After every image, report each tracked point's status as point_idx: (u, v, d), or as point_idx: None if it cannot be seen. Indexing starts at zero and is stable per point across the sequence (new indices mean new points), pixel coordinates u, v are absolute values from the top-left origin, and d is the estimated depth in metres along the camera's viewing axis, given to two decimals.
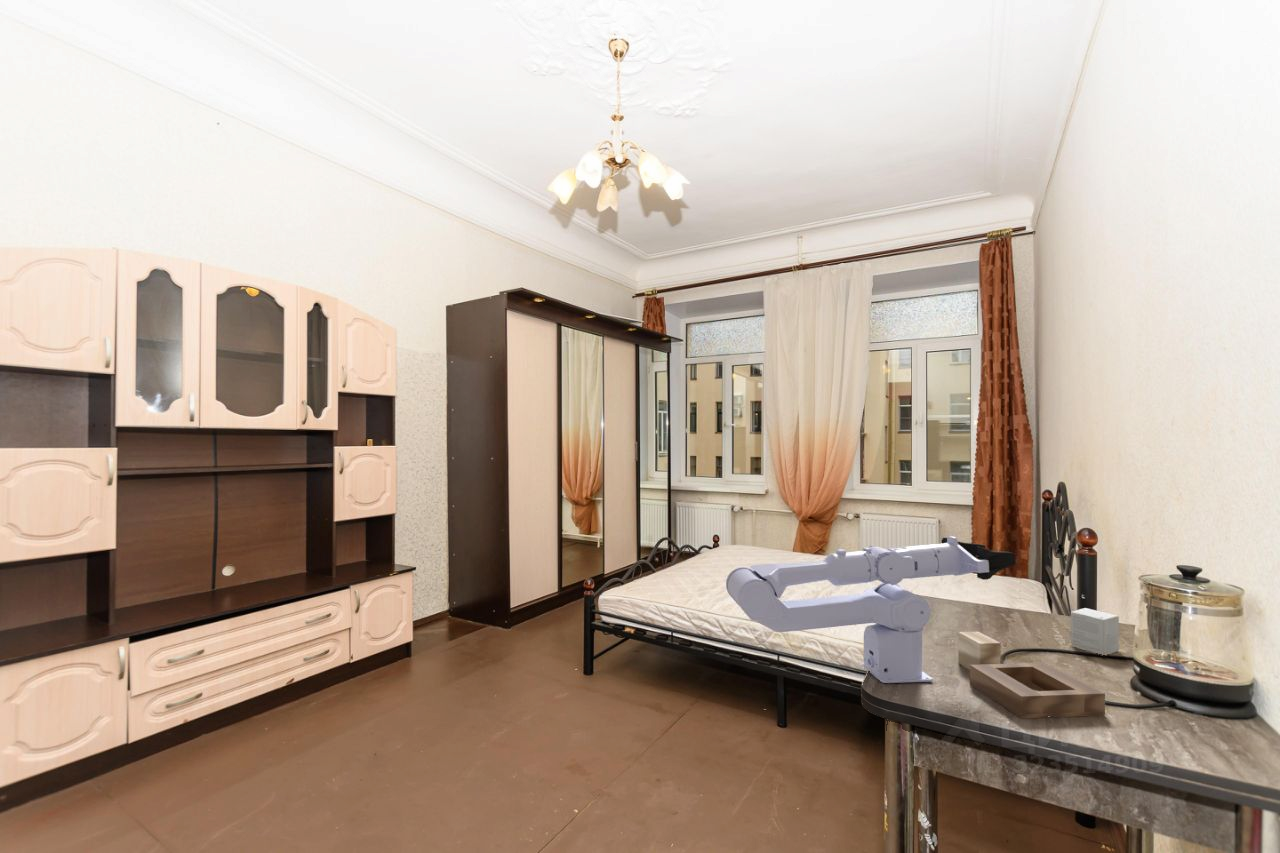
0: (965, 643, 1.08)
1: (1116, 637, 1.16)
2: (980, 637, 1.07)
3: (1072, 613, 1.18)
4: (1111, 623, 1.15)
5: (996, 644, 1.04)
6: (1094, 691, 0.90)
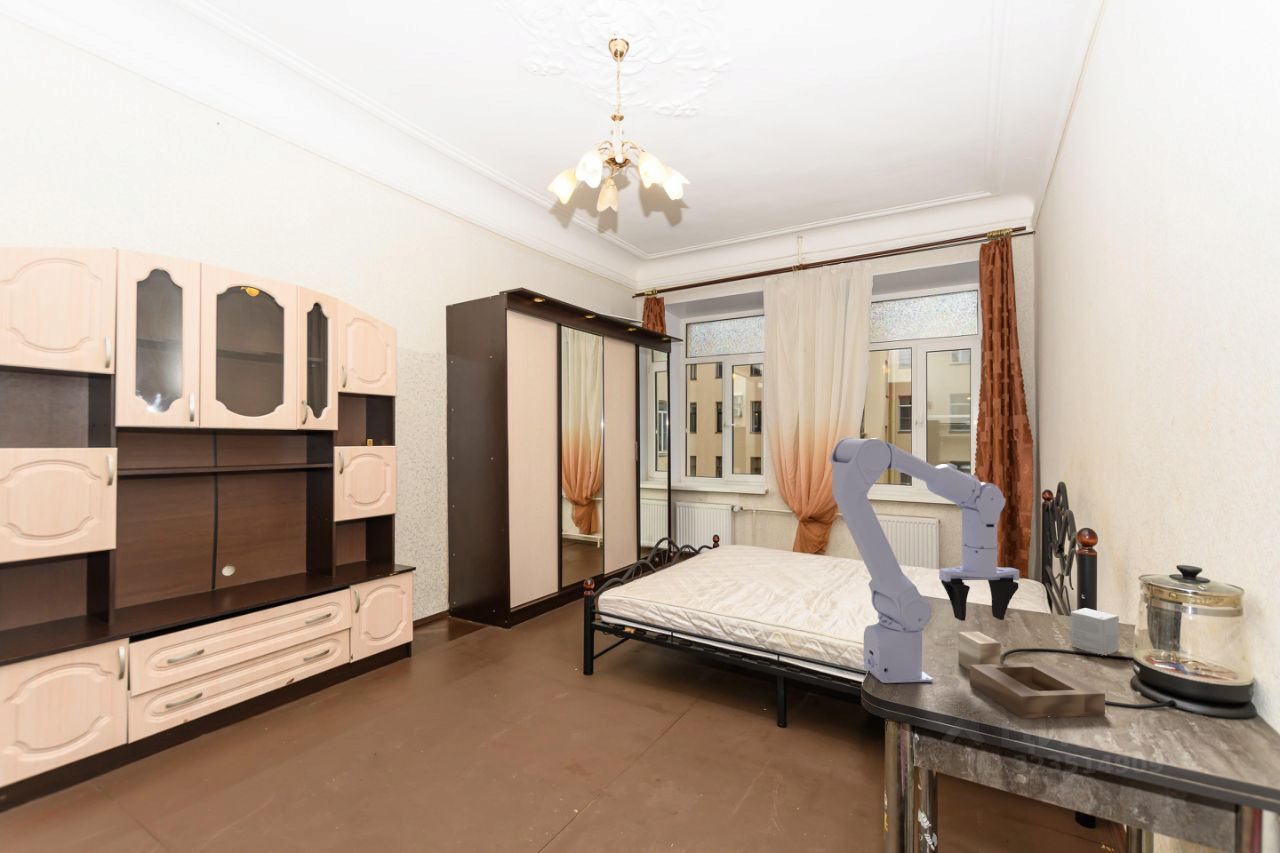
0: (965, 643, 1.08)
1: (1116, 637, 1.16)
2: (980, 637, 1.07)
3: (1072, 613, 1.18)
4: (1111, 623, 1.15)
5: (996, 644, 1.04)
6: (1094, 691, 0.90)
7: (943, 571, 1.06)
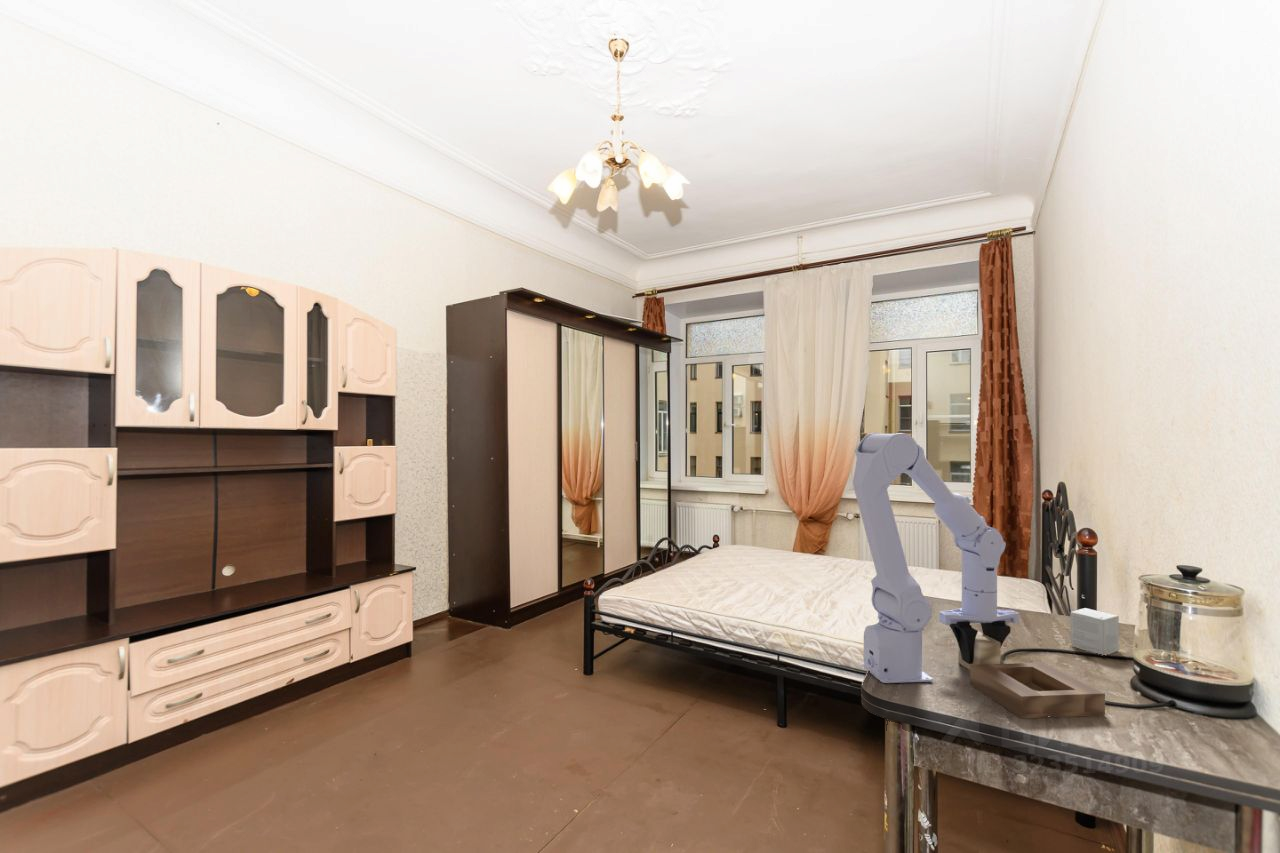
0: None
1: (1116, 637, 1.16)
2: (980, 636, 1.07)
3: (1072, 613, 1.18)
4: (1111, 623, 1.15)
5: (996, 644, 1.04)
6: (1094, 691, 0.90)
7: (943, 614, 1.06)
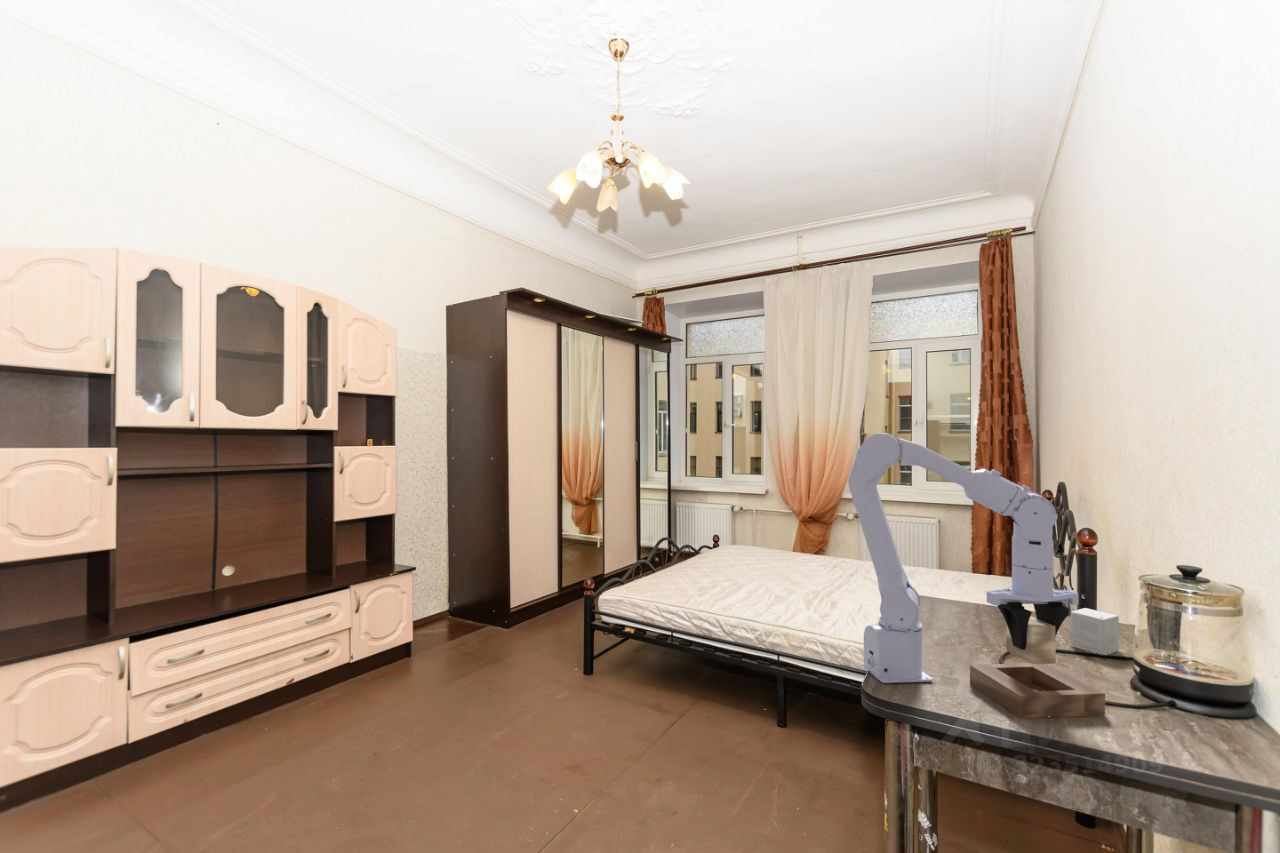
0: None
1: (1116, 637, 1.16)
2: (1031, 620, 0.96)
3: (1072, 613, 1.18)
4: (1111, 623, 1.15)
5: (1050, 627, 0.93)
6: (1094, 691, 0.90)
7: (991, 594, 0.95)
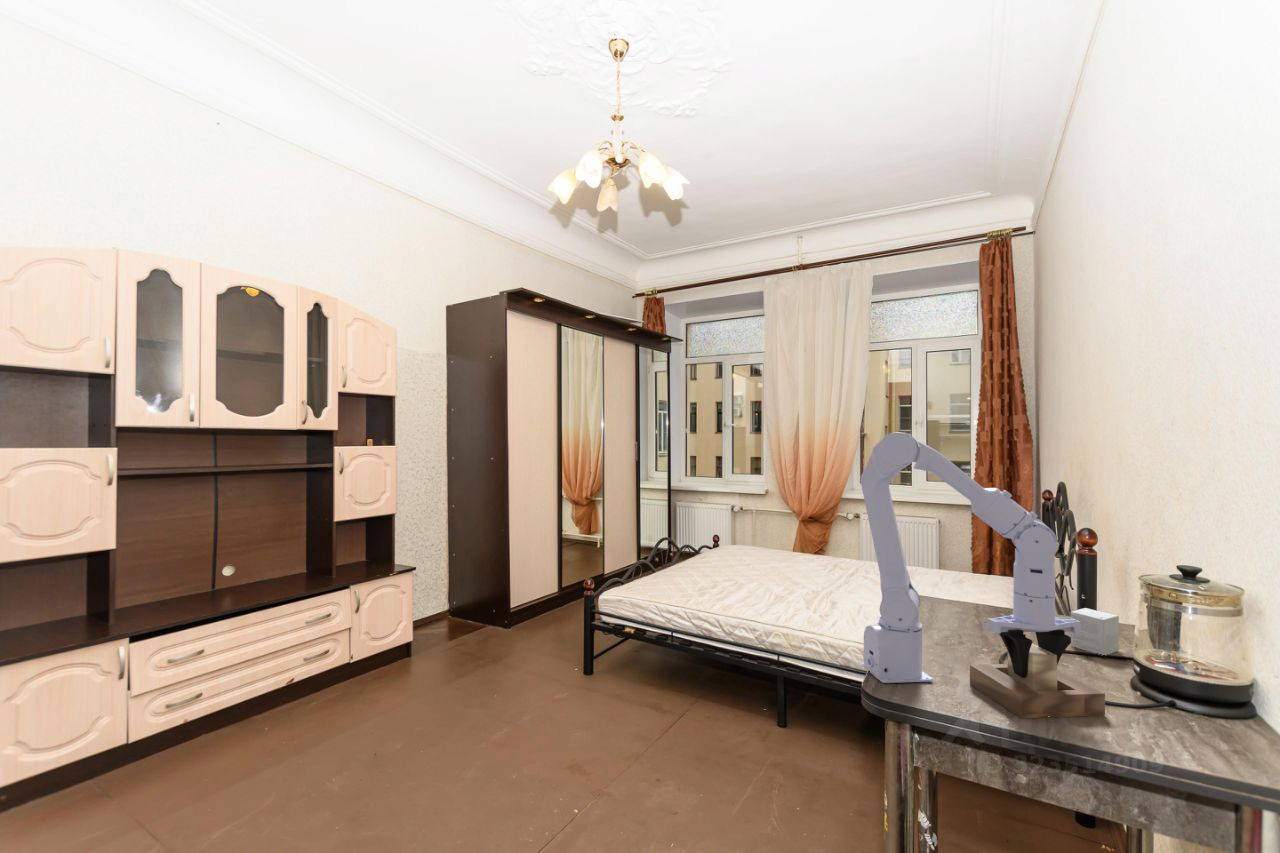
0: None
1: (1116, 637, 1.16)
2: (1033, 648, 0.96)
3: (1072, 613, 1.18)
4: (1111, 623, 1.15)
5: (1052, 656, 0.93)
6: (1094, 691, 0.90)
7: (992, 621, 0.94)
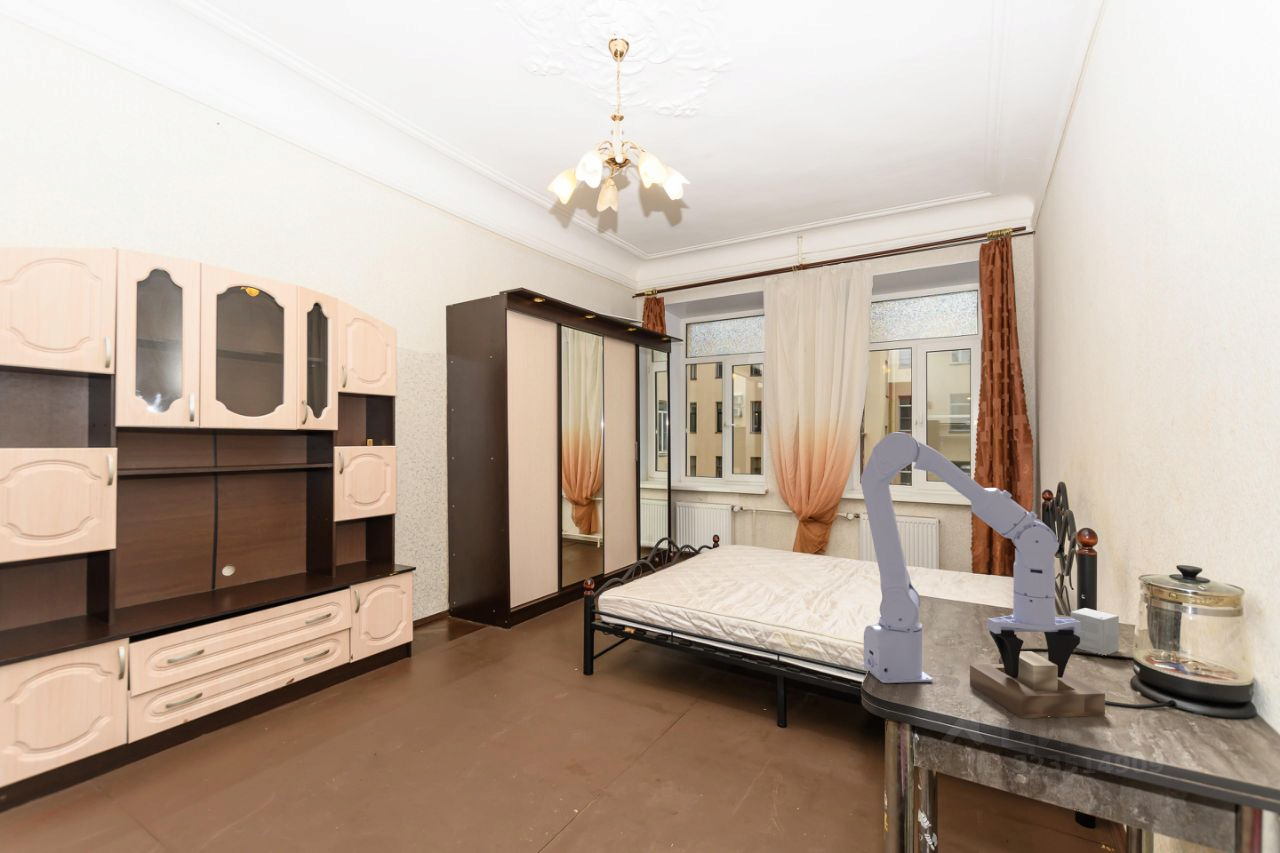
0: None
1: (1116, 637, 1.16)
2: (1034, 657, 0.95)
3: (1072, 613, 1.18)
4: (1111, 623, 1.15)
5: (1052, 667, 0.92)
6: (1094, 691, 0.90)
7: (992, 621, 0.94)
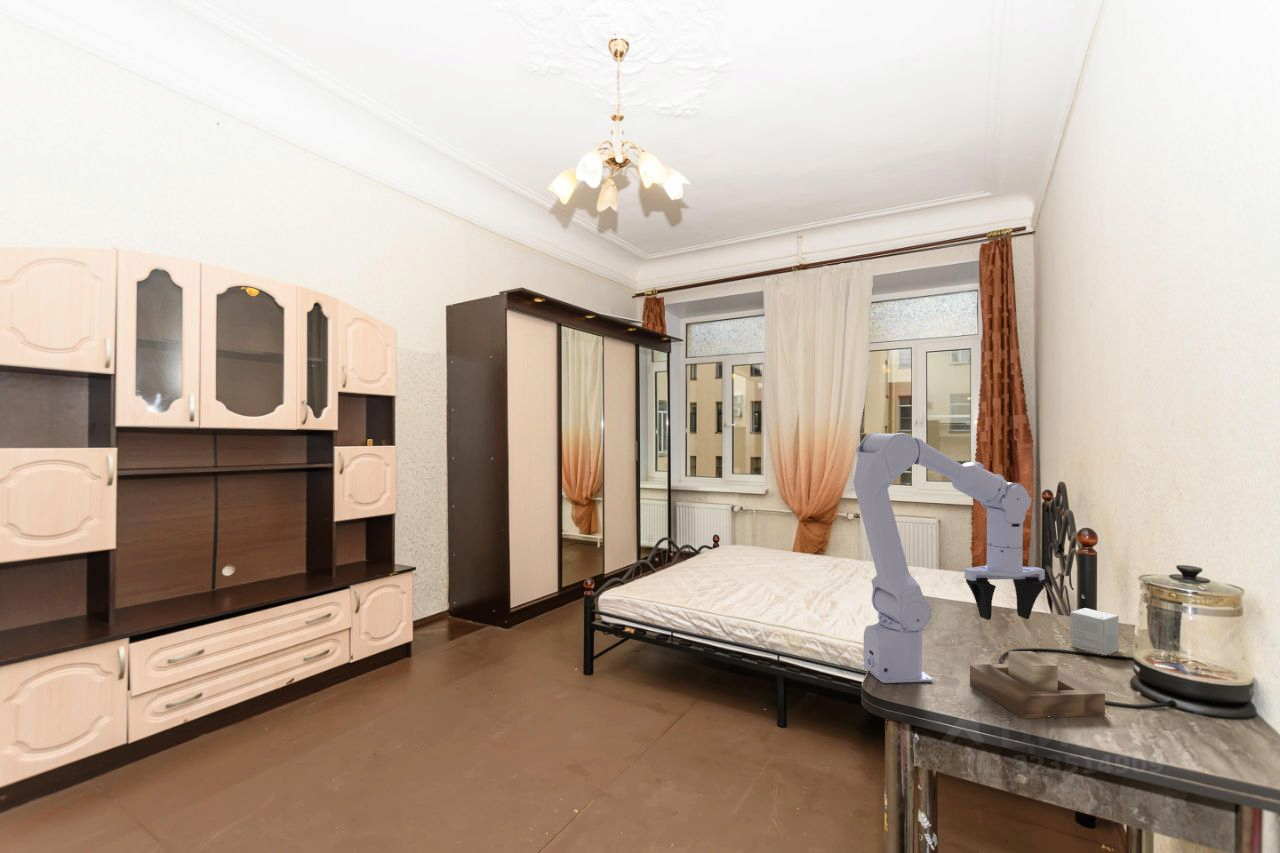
0: (1016, 664, 0.96)
1: (1116, 637, 1.16)
2: (1034, 657, 0.95)
3: (1072, 613, 1.18)
4: (1111, 623, 1.15)
5: (1052, 667, 0.92)
6: (1094, 691, 0.90)
7: (968, 570, 1.07)
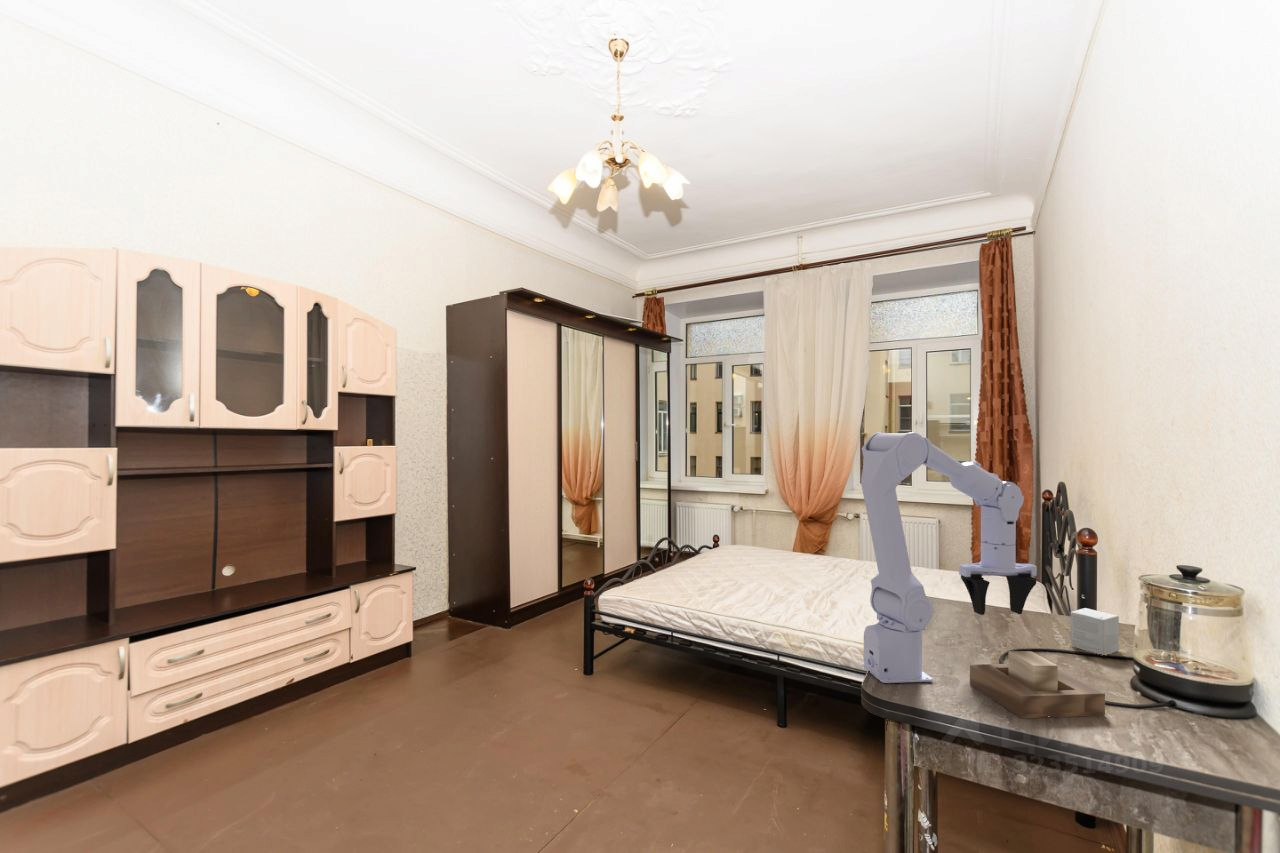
0: (1016, 664, 0.96)
1: (1116, 637, 1.16)
2: (1034, 657, 0.95)
3: (1072, 613, 1.18)
4: (1111, 623, 1.15)
5: (1052, 667, 0.92)
6: (1094, 691, 0.90)
7: (963, 567, 1.09)
